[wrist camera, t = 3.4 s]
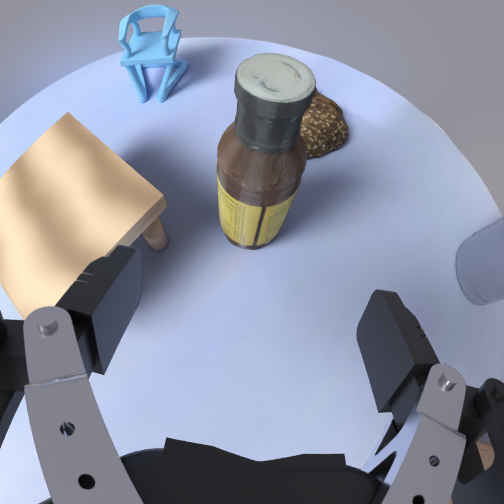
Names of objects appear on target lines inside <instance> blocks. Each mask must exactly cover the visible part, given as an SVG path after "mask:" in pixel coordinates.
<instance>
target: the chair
mask: <svg viewBox="0 0 504 504" xmlns="http://www.w3.org/2000/svg"><path fill="white" fill-rule="evenodd" d="M178 15H179V11H178V10H176V9H174V8H171V7H168V6H164V5H148V6H145V7H142V8H140V9H138V10H136V11H134V12H132V13H131V14H129V15H128V16H126V17H125V18H123V19H122V20H121V22H120V29H119V38H118V40H119V42H120V44H121V45H122V47H123V48H124V51H125V52H124V54H123V56H122V58H121V60H120V63H121V66H125V67H126V69H127V71H128V73H129V75H130V77H131V79H132V82H133V84H134V86H135V88H136V91H137V93H138V95H139V99H140V102H141V103H145V102H146V100H147V91H146V86H145V81H144V77H143V74H142V70H141V69H142V68H147V67H166V69H165V72H164V75H163V79H162V82H161V85H160V88H159V91H158V101H159V102H164V101H165V99H166V97H167V95H168V94H169V92H170V91H171V89H172V88H173V86H174V85H175V84H176V82H177V81H178V80H179V78H180V77H181V76H182V74H183V73H184V72H185V70H186V69H187V67H188V60H175V55H176V51H177V46H178V43H179V40H180V37H181V30H176V28H175V22H176V19H177V17H178ZM149 17H166V18H165V23H164V29H163V31H157V32H140V27H139V24H138V22H137V21H138V20H141V19H144V18H149ZM131 22H132V24H133V28H134V33H133V35H132V37H131V39H130V41H129V44H127V43H126V34H127V29H128V26H129V24H130V23H131ZM135 65H136V67H135ZM173 66H180V67H179V68H178V69H177V70H176V71H175V72H174V74H173V75H172V76H171V77H170V74H171V71H172V67H173ZM169 77H170V78H169Z"/></svg>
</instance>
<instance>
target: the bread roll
mask: <svg viewBox="0 0 504 504" xmlns="http://www.w3.org/2000/svg"><path fill="white" fill-rule="evenodd" d="M300 134H301V136H302V137H303V140H304V142H305V146H306V151H307V158H306V159H309V158H313V157H316V158H317V157H321V156H323V155H324V154H327V153H328V152H329V151H333V150H335V149H337V148H340V147H341V146H342V145H343V144H344V142H345V141H346V139H347V138H348V135H349V134H348V126H347V125H346V122H345V120H344V118H343V114H342V110H341V108H340V107H339V106H338V105H337V104H336V103H335V102H334V101H332V100H331V99H329V98H327V97H325V96H324V95H321V94H320V93H318V92H317V88H315V93H314V96H313V100H312V104H311V105H310V107H309V108H308V109H307V111H305V113H304V115H303V119H302V122H301V130H300Z"/></svg>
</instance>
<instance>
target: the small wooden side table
mask: <svg viewBox="0 0 504 504" xmlns="http://www.w3.org/2000/svg"><path fill="white" fill-rule="evenodd" d="M167 207H168V206H167V203H166V200H165V197H164V195H163V194H162V193H161V192H160V191H159V190H157V189H156V188H155V187H154V186H153V185H151V184H150V183H149V182H148V181H147V180H146V179H144V178H143V177H142V176H141V175H140V174H139V173H137V172H136V171H135V170H134V169H133V168H132V167H131V166H129V165H128V164H127V163H126V162H125V161H124V160H122V159H121V158H120V157H119V156H118V155H117V154H115V153H114V152H113V151H112V150H111V149H110V148H109V147H107V146H106V145H105V144H104V143H103V142H102V141H100V140H99V139H98V138H97V137H96V136H95V135H94V134H92V133H91V132H90V131H89V130H88V129H87V128H86V127H84V126H83V125H82V124H81V123H80V122H79V121H78V120H76V119H75V118H74V117H73V116H72V115H71V114H70V113H66V114H65V115H64V116H63V117H62V118H61V119H59V120H58V121H57V122H56V123H55V124H54V125H53V126H52V127H50V128H49V129H48V130H47V131H46V132H45V133H44V134H43V135H42V136H41V137H40V138H39V139H38V140H37V141H36V142H35V143H34V144H33V145H32V146H31V147H30V148H29V149H28V150H27V151H26V152H25V153H24V154H23V155H22V156H21V157H20V158H19V159H18V160H17V161H16V162H15V163H14V164H13V165H12V166H11V167H10V169H9V170H8V171H7V172H6V173H5V174H4V175H3V176H2V177H1V179H0V284H1V285H2V287H3V289H4V290H5V292H6V294H7V295H8V297H9V298H10V300H11V301H12V303H13V304H14V306H15V307H16V309H17V310H18V312H19V313H20V315H21V316H22V318H23V319H24V320H25V319H26V318H27V316H28V315H29V314H30V313H31V312H33V311H34V310H36V309H39V308H41V307H46V306H55V305H56V303H57V302H58V301H59V300H60V298H61V297H62V296H63V295H64V293H65V292H66V291H67V290H68V288H69V287H70V286H71V285H72V284H73V282H74V281H76V279H77V278H78V276H79V275H80V274H82V272H83V271H84V269H85V268H86V267H87V266H88V265H89V264H90V263H91V262H93V261H94V260H96V259H98V258H100V257H102V256H103V257H108V256H109V255H110V254H111V252H112V251H113V250H114V249H115V248H116V247H117V246H118V245H124V246H130V245H131V244H132V243H133V242H134V241H135V240H136V239H137V238H138V237H139V235H140V234H141V233H142V235H143V236H144V238H145V239H146V241H147V242H148V244H149V245H150V247H151V248H152V249H153V250H155V251H161V250H163V249H165V248H166V246H167V245H168V237H167V235H166V233H165V231H164V228H163V226H162V224H161V221H160V219H159V217H158V216H159V215H160V214H161V213H162V212H163V211H164V210H165V209H166V208H167Z"/></svg>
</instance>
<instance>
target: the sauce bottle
mask: <svg viewBox="0 0 504 504" xmlns="http://www.w3.org/2000/svg"><path fill="white" fill-rule="evenodd" d="M315 88H316V81H315V77H314V75H313V73H312V71H311V70H310V68H309V67H307V66H306V65H305V64H303V63H302V62H300V61H299V60H297V59H294V58H292V57H290V56H286V55H282V54H277V53H262V54H257V55H254V56H252V57H251V58H248V59H245V60H244V61H243V62H242V63H241V64H240V65H239V67H238V68H237V71H236V75H235V87H234V92H235V96H236V98H237V100H238V103H237V114H236V117H235V121H234V122H233V123H232V124H231V125H230V126H229V127H228V128H227V129H226V131H225V132H224V133H223V135H222V137H221V139H220V142H219V145H218V154H217V157H218V160H217V186H218V205H219V220H220V224H221V228H222V231H223V233H224V235H225V236H226V237H227V239H228V240H229V241H230V243H232V244H233V245H235V246H237V247H240V248H244V249H251V250H255V249H259V248H261V247H263V246H265V245H267V244H268V243H270V242H271V241H272V240H273V239H274V238H275V237H276V235H277V233H278V232H279V230H280V228H281V226H282V224H283V221H284V219H285V217H286V214H287V212H288V210H289V208H290V205H291V203H292V201H293V199H294V196H295V194H296V192H297V190H298V187H299V185H300V182H301V176H302V174H303V172H304V169H305V166H306V158H307V151H306V146H305V142H304V140H303V137H302V136H301V134H300V130H301V122H302V119H303V115H304V113H305V111H307V109H308V108H309V107H310V105H311V104H312V100H313V96H314V93H315Z"/></svg>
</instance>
